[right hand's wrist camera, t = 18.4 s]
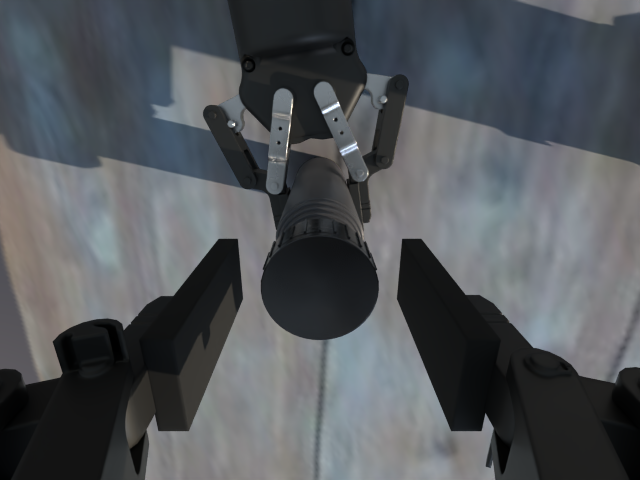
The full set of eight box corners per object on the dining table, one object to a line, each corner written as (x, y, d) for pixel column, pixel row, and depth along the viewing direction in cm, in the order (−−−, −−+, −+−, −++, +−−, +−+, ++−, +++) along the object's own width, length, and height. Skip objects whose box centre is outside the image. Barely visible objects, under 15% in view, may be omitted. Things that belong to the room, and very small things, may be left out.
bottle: (317, 214, 33) (314, 351, 14) (285, 179, 32) (236, 278, 13) (353, 184, 32) (401, 288, 13) (322, 146, 31) (325, 202, 12)
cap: (298, 197, 13) (294, 211, 12) (392, 248, 14) (404, 269, 12) (249, 285, 15) (239, 311, 13) (339, 327, 16) (341, 358, 14)
